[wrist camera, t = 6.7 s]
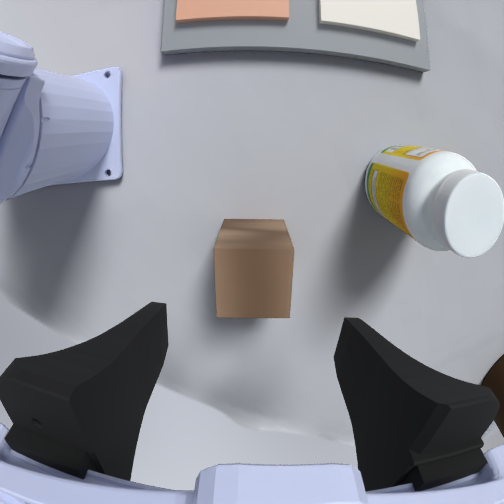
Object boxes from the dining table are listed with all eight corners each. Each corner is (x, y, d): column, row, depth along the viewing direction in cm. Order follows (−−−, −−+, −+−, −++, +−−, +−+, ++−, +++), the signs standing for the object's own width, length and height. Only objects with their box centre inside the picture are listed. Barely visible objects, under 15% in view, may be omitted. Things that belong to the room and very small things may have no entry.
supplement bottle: (394, 129, 19) (480, 131, 10) (439, 181, 20) (527, 213, 11) (346, 184, 21) (410, 221, 12) (395, 233, 22) (468, 292, 13)
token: (225, 273, 23) (216, 317, 17) (224, 219, 22) (213, 248, 16) (281, 274, 23) (289, 317, 17) (283, 219, 22) (294, 249, 16)
